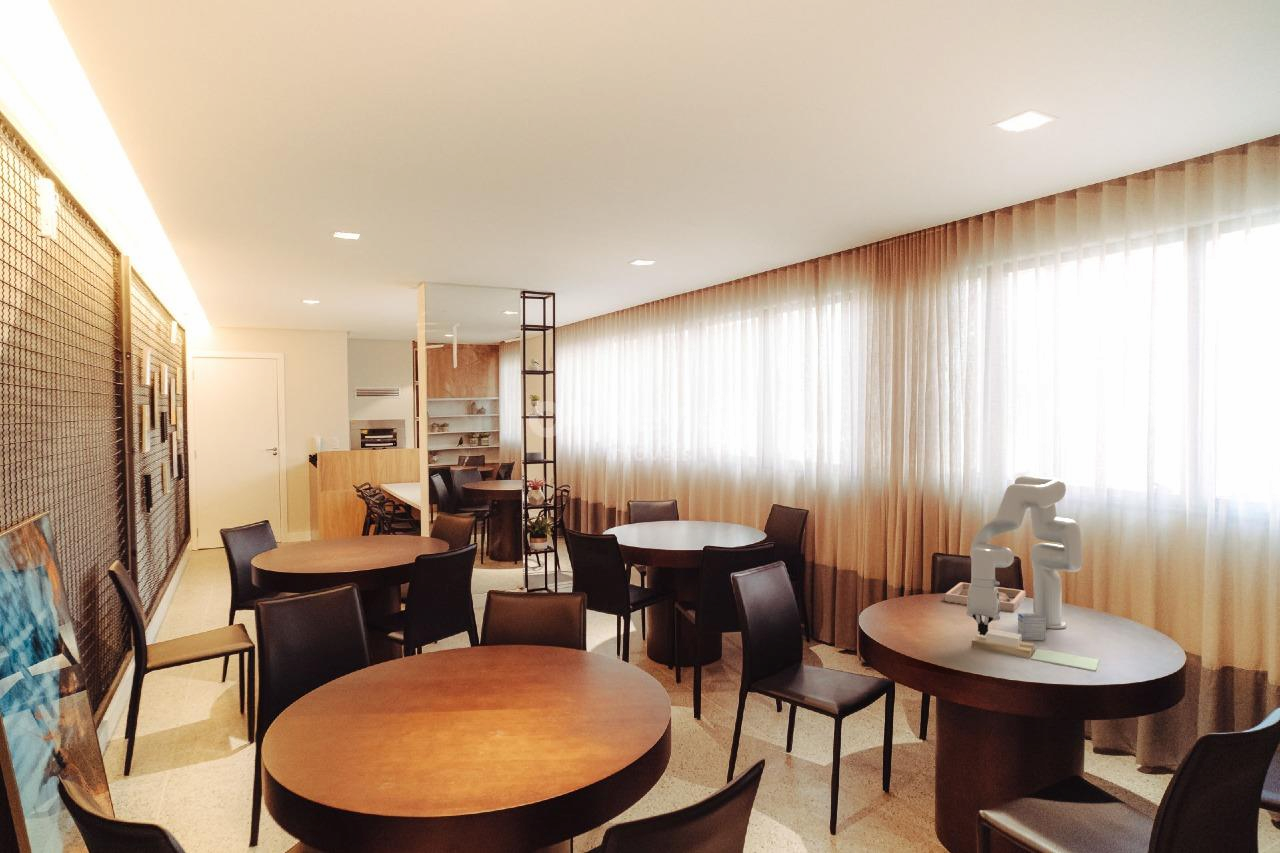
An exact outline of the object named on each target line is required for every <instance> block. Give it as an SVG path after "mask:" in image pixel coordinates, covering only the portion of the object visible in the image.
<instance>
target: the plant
mask: <svg viewBox="0 0 1280 853" xmlns="http://www.w3.org/2000/svg"><path fill="white" fill-rule="evenodd" d="M968 590H969V589H965V590H962V592H961V593H959V594H958V595H963V596H968ZM998 592H999V600H1000V601H1005V602H1011V601H1010V600H1011V598H1010V597H1008V596H1007V595H1006V594H1005V593H1002V592H1000V591H998Z"/></svg>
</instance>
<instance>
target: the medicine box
mask: <svg viewBox="0 0 1280 853" xmlns="http://www.w3.org/2000/svg"><path fill="white" fill-rule="evenodd" d="M1046 630H1047V628H1046V617H1044V616H1043V615H1041V614H1033V613H1027V612H1026V613H1021V612H1020V613H1018V614H1017V634H1022V640H1023V641H1032V640H1033V641H1046V639H1047V638H1046V637H1047V636H1046V632H1047V631H1046Z"/></svg>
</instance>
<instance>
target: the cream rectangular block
mask: <svg viewBox="0 0 1280 853" xmlns="http://www.w3.org/2000/svg"><path fill="white" fill-rule="evenodd" d="M1022 640H1023V639H1022V634H1018V633H1016V632H1011V631H1010V632H1009V631H1003V630H998V629H997V630H996V629H993V628H990V629H988V632H987V633H986V642H990V643H996V644H1001V645H1007V646H1012V647H1019V646H1020V645H1021V643H1022Z"/></svg>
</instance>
